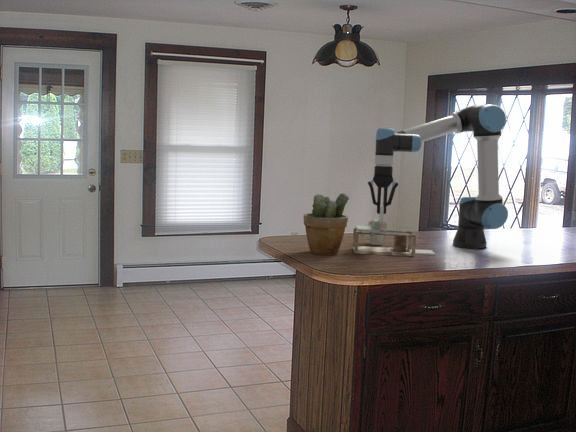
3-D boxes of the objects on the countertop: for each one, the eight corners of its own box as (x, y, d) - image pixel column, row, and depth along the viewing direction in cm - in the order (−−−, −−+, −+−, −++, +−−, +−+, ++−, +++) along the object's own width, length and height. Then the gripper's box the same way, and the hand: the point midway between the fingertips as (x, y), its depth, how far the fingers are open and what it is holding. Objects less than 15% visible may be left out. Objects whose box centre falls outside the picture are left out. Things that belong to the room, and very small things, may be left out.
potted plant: (315, 257, 273) (318, 194, 270) (293, 249, 289) (296, 190, 286) (354, 255, 282) (357, 194, 279) (330, 248, 298) (334, 190, 295)
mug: (385, 246, 310) (386, 224, 309) (357, 244, 312) (358, 222, 311) (386, 243, 318) (387, 222, 317) (359, 241, 320) (360, 220, 319)
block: (404, 252, 295) (405, 234, 294) (405, 254, 291) (406, 235, 290) (393, 252, 295) (394, 233, 294) (394, 253, 291) (396, 235, 290)
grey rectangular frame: (410, 251, 299) (411, 231, 298) (414, 256, 287) (416, 235, 286) (352, 248, 299) (353, 228, 298) (354, 253, 287) (355, 232, 286)
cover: (376, 228, 298) (376, 219, 298) (379, 232, 286) (380, 222, 285) (355, 227, 298) (356, 218, 298) (357, 231, 286) (358, 221, 286)
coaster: (431, 251, 301) (431, 250, 301) (435, 255, 292) (435, 253, 292) (410, 250, 301) (410, 249, 301) (413, 254, 292) (414, 252, 292)
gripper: (398, 165, 292) (395, 220, 295) (367, 164, 293) (364, 219, 296) (400, 166, 285) (397, 223, 288) (368, 165, 285) (366, 222, 288)
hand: (380, 221), depth 292 cm, fingers closed
